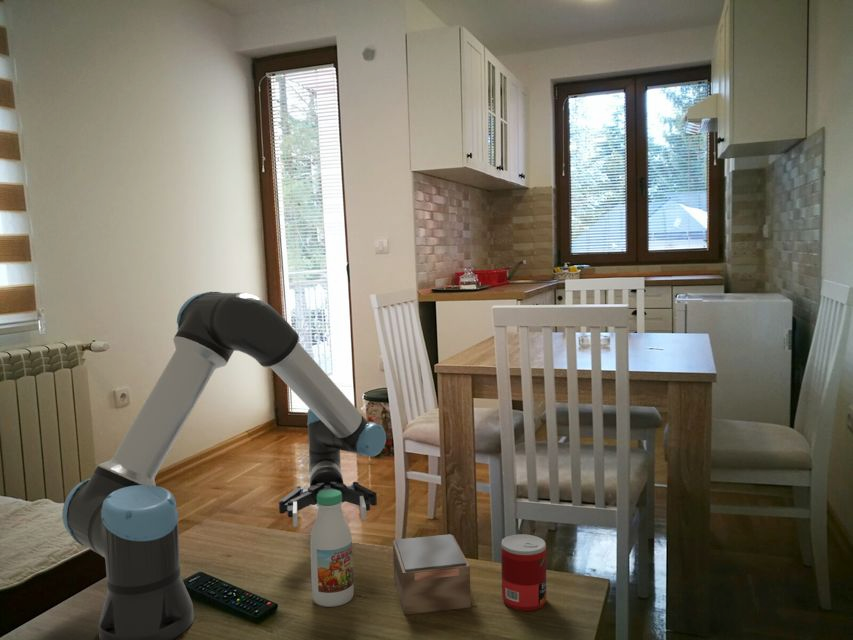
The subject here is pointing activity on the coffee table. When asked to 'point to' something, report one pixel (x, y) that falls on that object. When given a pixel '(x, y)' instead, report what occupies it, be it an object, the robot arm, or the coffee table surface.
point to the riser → (431, 574)
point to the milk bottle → (331, 552)
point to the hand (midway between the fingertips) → (330, 516)
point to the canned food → (523, 572)
